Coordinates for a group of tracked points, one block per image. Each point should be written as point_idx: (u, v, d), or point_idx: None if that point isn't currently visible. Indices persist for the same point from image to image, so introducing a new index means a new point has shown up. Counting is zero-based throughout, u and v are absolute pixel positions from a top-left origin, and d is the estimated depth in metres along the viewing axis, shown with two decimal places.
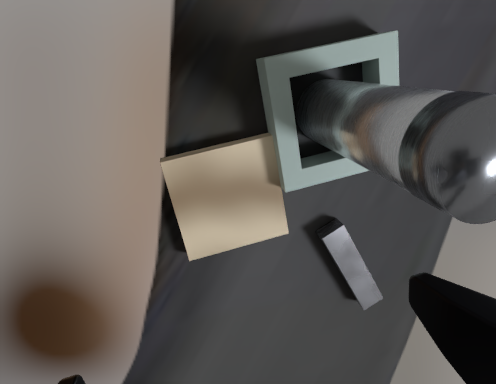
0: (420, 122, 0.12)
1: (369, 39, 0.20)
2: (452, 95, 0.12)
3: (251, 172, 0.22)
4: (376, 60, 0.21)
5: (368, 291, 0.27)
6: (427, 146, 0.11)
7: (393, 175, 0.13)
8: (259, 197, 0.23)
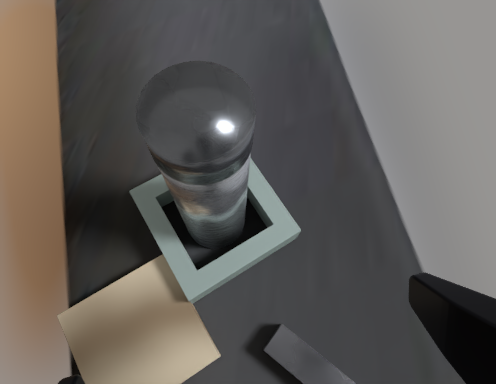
0: None
1: None
2: None
3: (153, 296, 0.21)
4: None
5: None
6: None
7: (171, 181, 0.14)
8: (170, 321, 0.21)
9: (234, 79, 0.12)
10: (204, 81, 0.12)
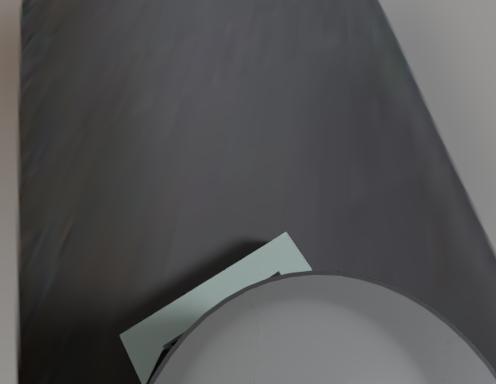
0: None
1: (254, 255, 0.15)
2: None
3: None
4: (279, 274, 0.15)
5: None
6: None
7: None
8: None
9: (446, 348, 0.04)
10: (348, 358, 0.04)
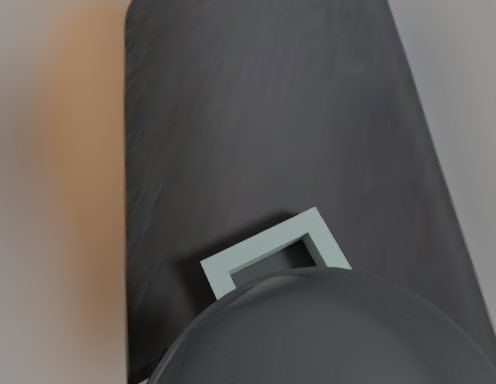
0: None
1: (292, 220, 0.22)
2: None
3: None
4: (308, 235, 0.22)
5: None
6: None
7: None
8: None
9: (446, 343, 0.04)
10: (349, 354, 0.04)
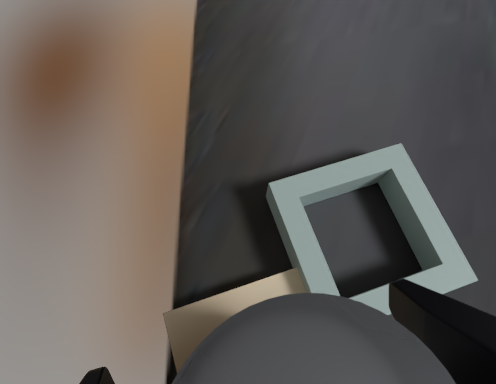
0: None
1: (374, 154, 0.19)
2: None
3: None
4: (390, 172, 0.19)
5: None
6: None
7: None
8: None
9: (412, 357, 0.05)
10: (332, 366, 0.05)
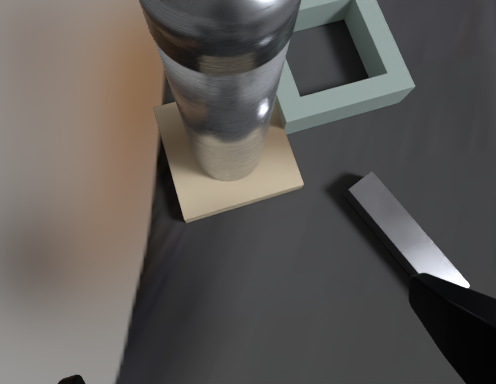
0: None
1: None
2: None
3: None
4: (353, 1, 0.22)
5: (440, 272, 0.19)
6: None
7: (177, 72, 0.10)
8: None
9: None
10: None
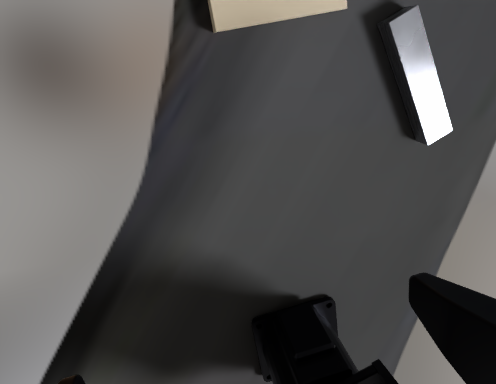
0: None
1: None
2: None
3: None
4: None
5: (436, 117, 0.21)
6: None
7: None
8: None
9: None
10: None
